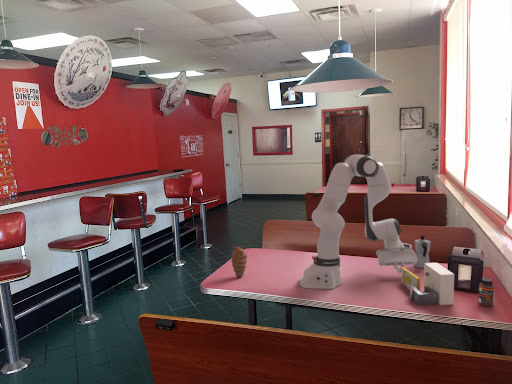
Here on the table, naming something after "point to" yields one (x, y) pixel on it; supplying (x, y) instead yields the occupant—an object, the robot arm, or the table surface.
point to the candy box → (410, 279)
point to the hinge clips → (424, 296)
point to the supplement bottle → (486, 292)
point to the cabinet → (440, 282)
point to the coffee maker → (422, 251)
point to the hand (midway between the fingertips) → (400, 271)
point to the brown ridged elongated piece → (239, 261)
